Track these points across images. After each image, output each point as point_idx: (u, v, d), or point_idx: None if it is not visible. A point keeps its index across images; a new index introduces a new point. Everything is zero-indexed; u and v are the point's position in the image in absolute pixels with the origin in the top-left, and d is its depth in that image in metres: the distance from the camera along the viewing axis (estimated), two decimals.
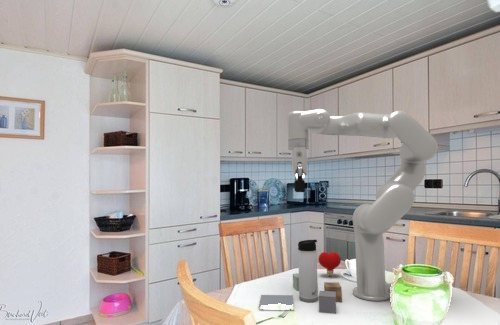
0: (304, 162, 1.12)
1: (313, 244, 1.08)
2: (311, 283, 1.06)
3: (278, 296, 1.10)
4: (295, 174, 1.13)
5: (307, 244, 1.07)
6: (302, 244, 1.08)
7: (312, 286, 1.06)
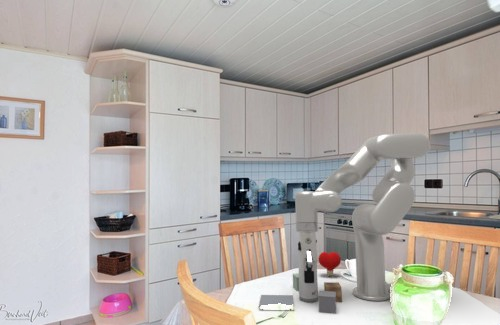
0: (314, 249, 1.05)
1: None
2: (311, 283, 1.06)
3: (278, 296, 1.10)
4: (304, 262, 1.07)
5: None
6: None
7: (312, 286, 1.06)
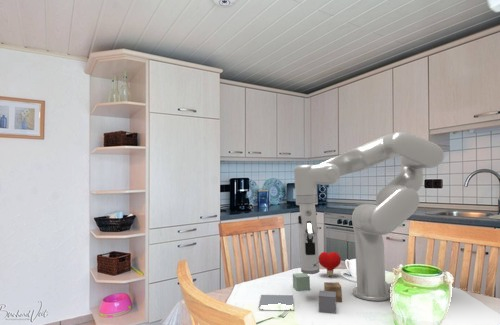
0: (314, 221, 1.06)
1: None
2: (312, 255, 1.07)
3: (278, 296, 1.10)
4: (305, 235, 1.07)
5: None
6: None
7: (313, 258, 1.07)
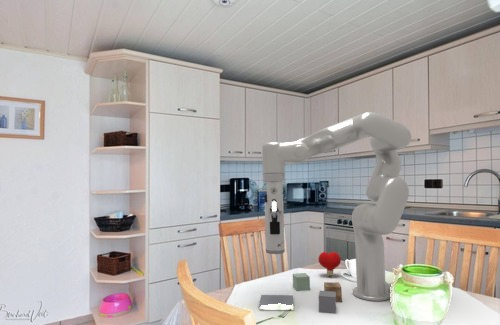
0: (279, 199, 1.02)
1: None
2: (276, 234, 1.04)
3: (278, 296, 1.10)
4: (270, 214, 1.04)
5: None
6: None
7: (278, 237, 1.04)
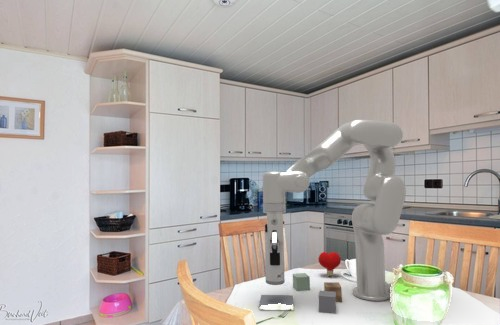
0: (279, 230, 1.02)
1: None
2: None
3: (278, 296, 1.10)
4: (270, 244, 1.03)
5: None
6: None
7: (278, 268, 1.03)
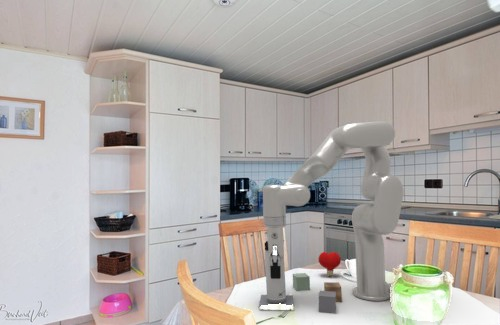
0: (280, 244, 1.01)
1: None
2: (277, 284, 1.03)
3: None
4: None
5: None
6: None
7: (279, 287, 1.03)
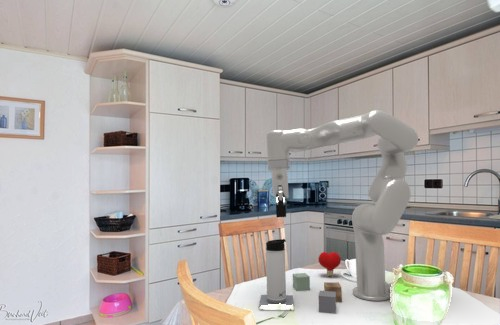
0: (285, 185, 1.05)
1: (281, 244, 1.04)
2: (278, 284, 1.03)
3: None
4: (275, 198, 1.06)
5: (274, 244, 1.04)
6: (269, 244, 1.04)
7: (279, 287, 1.03)
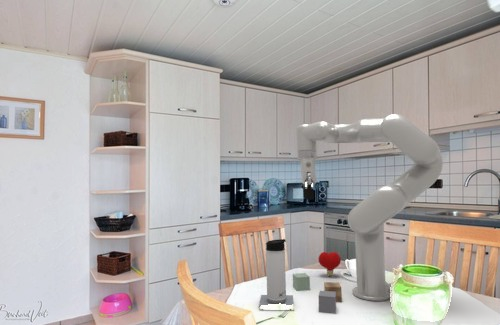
0: (313, 172, 1.22)
1: (281, 244, 1.04)
2: (278, 284, 1.03)
3: None
4: (304, 183, 1.22)
5: (274, 244, 1.04)
6: (269, 244, 1.04)
7: (279, 287, 1.03)
